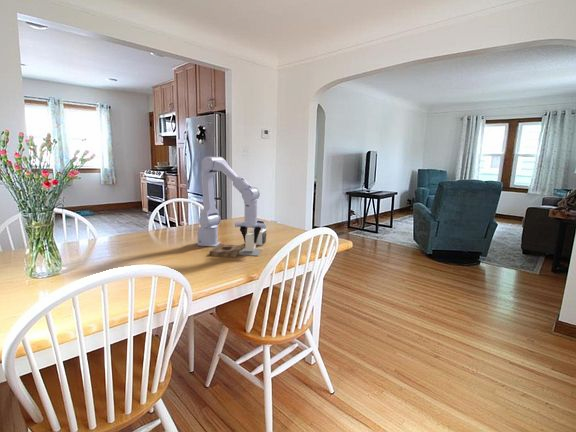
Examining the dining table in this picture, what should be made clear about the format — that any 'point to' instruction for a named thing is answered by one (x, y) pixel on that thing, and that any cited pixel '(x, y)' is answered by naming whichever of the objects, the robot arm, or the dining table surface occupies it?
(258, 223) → the robot arm
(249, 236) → the peg
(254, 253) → the mat
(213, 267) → the dining table surface
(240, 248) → the pocket block
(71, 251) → the dining table surface
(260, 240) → the white bottle
